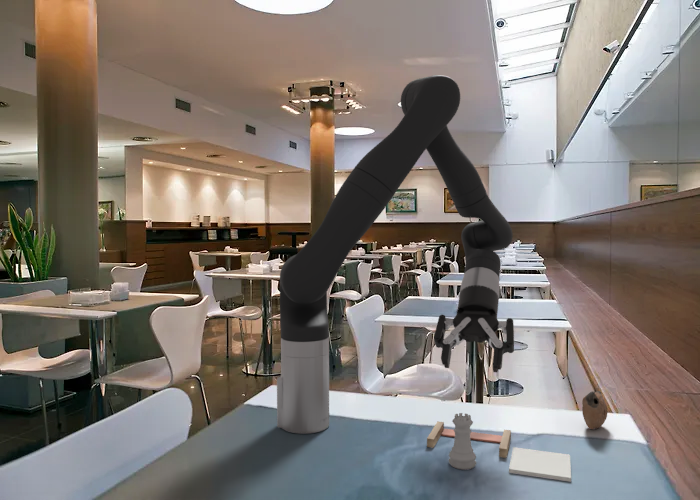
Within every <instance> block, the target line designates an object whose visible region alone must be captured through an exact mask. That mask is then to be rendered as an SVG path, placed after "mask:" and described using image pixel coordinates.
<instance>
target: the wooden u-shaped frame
mask: <svg viewBox="0 0 700 500" xmlns="http://www.w3.org/2000/svg"><path fill="white" fill-rule="evenodd" d="M444 423H445V422H444V421H436V422H435V424H434V426H433V428H432V430H431V431H430V433H429V434H428V436H427V437H426V447H427V448H430V449H431V448H432V449H434V448H435V447H436V445H437V443H438V441H439V439H440V438H441V437H448V438H455V432H454V429H451V428H450V429H449V428H445V424H444ZM470 439H471V440H472V441H478V442H479V441H480V442H487V443H493V444H499V446H498V450H499V452H498V454H499V455H498V457H499V458H502V459H503V458H504V459H507V458H508V453H509V449H510V444H511V439H512V430H511V429H503V433H502V435H499V434H490V433H482V432H475V431H472V432H471V433H470Z"/></svg>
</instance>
